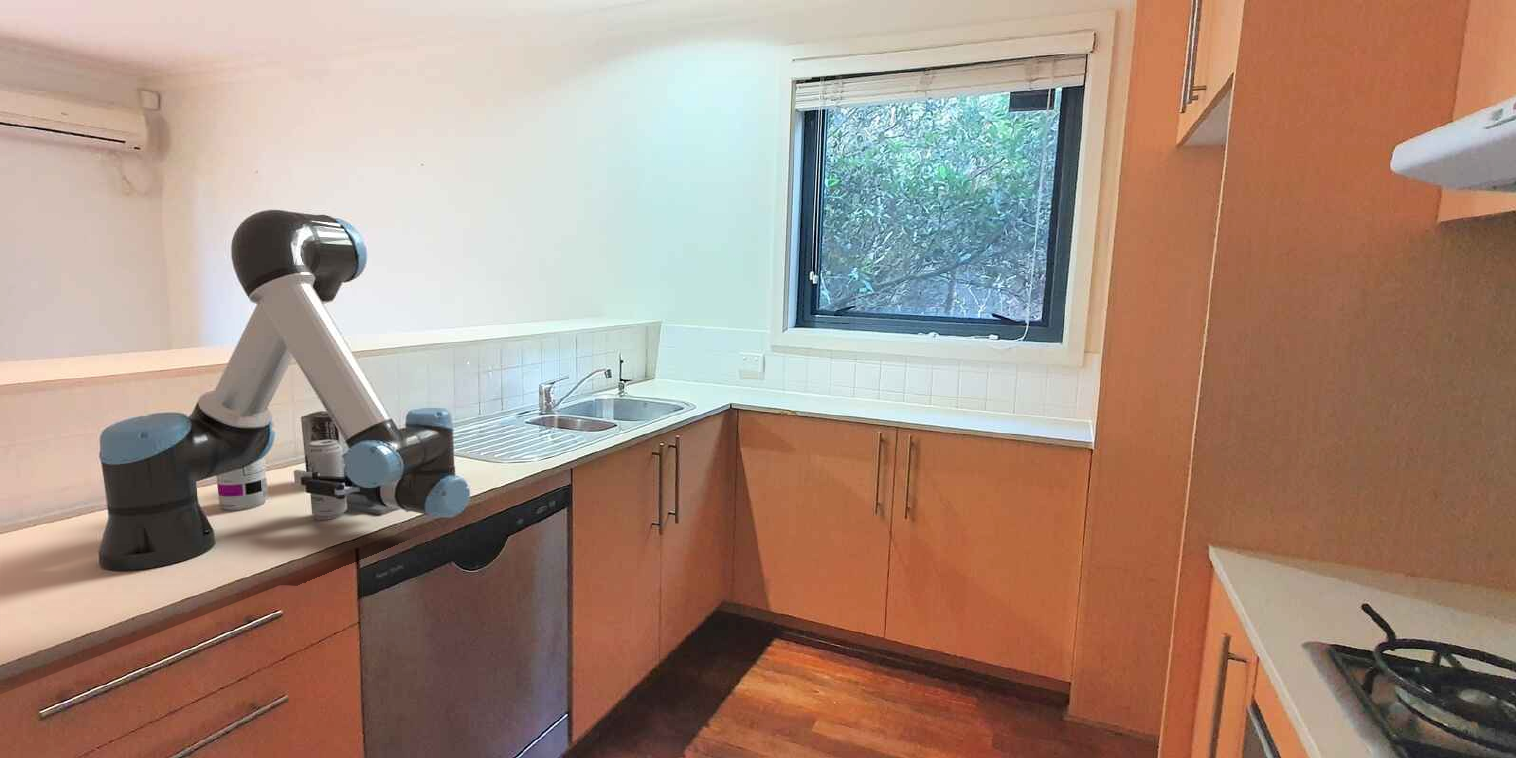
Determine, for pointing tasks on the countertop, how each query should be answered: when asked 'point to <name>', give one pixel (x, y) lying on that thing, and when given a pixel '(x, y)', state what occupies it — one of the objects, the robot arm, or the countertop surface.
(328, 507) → the energy drink can
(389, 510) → the tray
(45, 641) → the countertop surface
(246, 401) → the robot arm
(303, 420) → the coffee box
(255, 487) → the supplement can
